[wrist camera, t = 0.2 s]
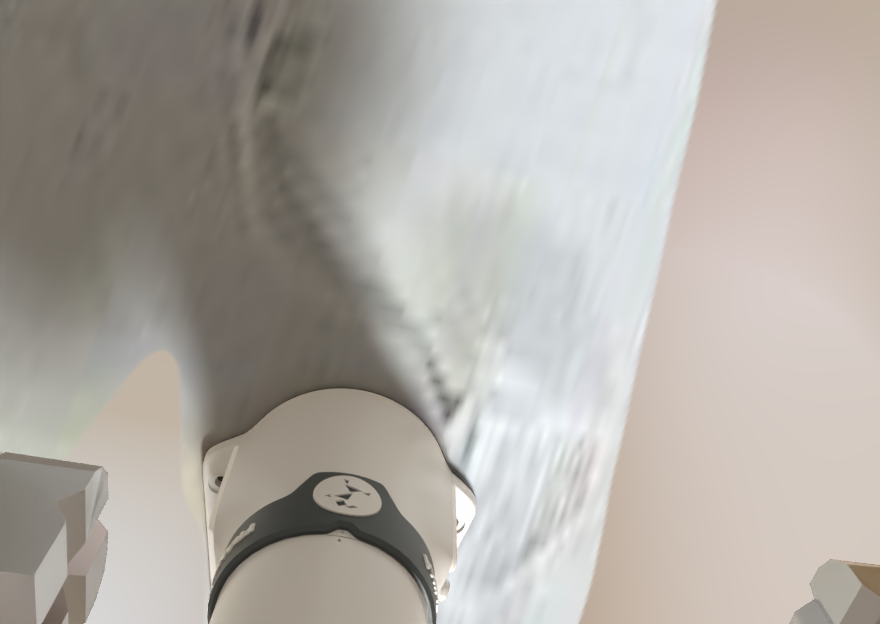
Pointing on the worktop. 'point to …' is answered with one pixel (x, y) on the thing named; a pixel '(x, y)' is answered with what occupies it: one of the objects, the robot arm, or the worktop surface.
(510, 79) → the worktop surface
